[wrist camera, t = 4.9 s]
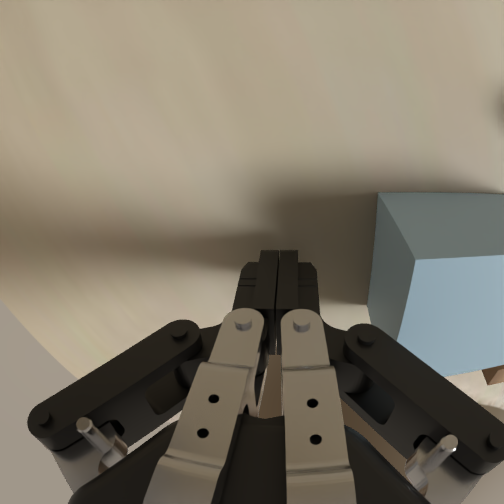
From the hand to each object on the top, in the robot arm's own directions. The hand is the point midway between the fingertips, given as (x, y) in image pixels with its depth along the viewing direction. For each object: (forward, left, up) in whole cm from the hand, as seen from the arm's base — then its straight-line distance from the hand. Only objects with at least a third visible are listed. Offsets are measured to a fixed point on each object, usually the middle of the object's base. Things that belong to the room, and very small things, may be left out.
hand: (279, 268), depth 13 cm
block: (+8, 0, -1) cm, 8 cm away
